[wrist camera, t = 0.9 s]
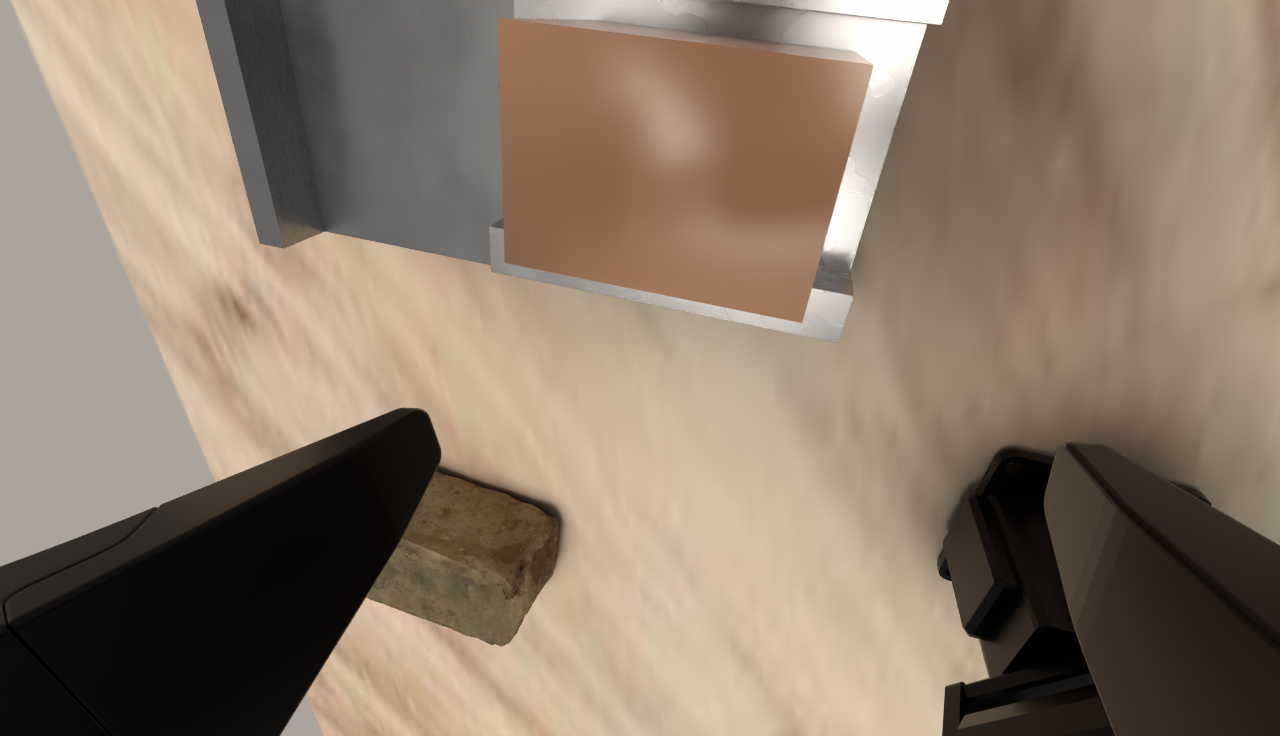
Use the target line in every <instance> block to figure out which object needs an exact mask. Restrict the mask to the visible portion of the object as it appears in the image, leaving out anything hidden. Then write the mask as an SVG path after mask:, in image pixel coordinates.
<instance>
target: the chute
mask: <svg viewBox="0 0 1280 736" xmlns="http://www.w3.org/2000/svg"><path fill="white" fill-rule="evenodd" d="M948 2H949V0H196V3H197V7H198V11H199V14H200V18H201V22H202V26H203V30H204V33H205V37H206V41H207V45H208V49H209V52H210V56H211V60H212V64H213V68H214V71H215V75H216V79H217V83H218V87H219V90H220V94H221V98H222V102H223V106H224V109H225V113H226V117H227V121H228V125H229V128H230V132H231V136H232V140H233V144H234V147H235V151H236V155H237V159H238V163H239V166H240V170H241V174H242V178H243V181H244V185H245V189H246V193H247V197H248V200H249V204H250V208H251V212H252V216H253V219H254V223H255V227H256V231H257V235H258V238H259V242H260V244H265V245H270V246H274V247H279V248H286V247H289V246H291V245H293V244H296V243H298V242H301V241H303V240H305V239H308V238H310V237H313V236H315V235H317V234H320V233H322V232H325V231H326V232H331V233H336V234H341V235H346V236H351V237H356V238H361V239H366V240H370V241H375V242H380V243H385V244H390V245H395V246H400V247H405V248H410V249H415V250H420V251H424V252H429V253H434V254H439V255H444V256H449V257H454V258H459V259H464V260H469V261H474V262H478V263H483V264H488V265H491V272H496V273H501V274H505V275H510V276H515V277H520V278H525V279H530V280H535V281H540V282H544V283H549V284H554V285H559V286H564V287H569V288H574V289H578V290H583V291H588V292H593V293H598V294H603V295H608V296H612V297H617V298H622V299H627V300H632V301H637V302H642V303H646V304H651V305H656V306H661V307H666V308H671V309H676V310H680V311H685V312H690V313H695V314H700V315H705V316H710V317H714V318H719V319H724V320H729V321H734V322H739V323H744V324H748V325H753V326H758V327H763V328H768V329H773V330H778V331H782V332H787V333H792V334H797V335H802V336H807V337H812V338H816V339H821V340H826V341H831V342H836V343H839V340H840V337H841V334H842V330H843V327H844V324H845V321H846V318H847V315H848V312H849V309H850V306H851V303H852V299H853V288H852V280H851V272H850V270H851V267H852V264H853V260H854V257H855V254H856V251H857V247H858V244H859V241H860V238H861V235H862V231H863V228H864V225H865V222H866V219H867V215H868V212H869V209H870V206H871V203H872V199H873V196H874V193H875V190H876V187H877V183H878V180H879V177H880V174H881V170H882V167H883V164H884V161H885V158H886V154H887V151H888V148H889V145H890V142H891V138H892V135H893V132H894V129H895V126H896V122H897V119H898V116H899V113H900V110H901V106H902V103H903V100H904V97H905V93H906V90H907V87H908V84H909V81H910V77H911V74H912V71H913V68H914V65H915V61H916V58H917V55H918V52H919V49H920V45H921V42H922V39H923V36H924V33H925V29H926V26H927V25H941V24H942V21H943V18H944V15H945V12H946V9H947V5H948ZM498 18H528V19H573V20H601V21H609V22H618V23H626V24H634V25H642V26H650V27H659V28H667V29H675V30H683V31H691V32H700V33H708V34H716V35H724V36H733V37H741V38H749V39H757V40H765V41H774V42H782V43H790V44H798V45H806V46H815V47H823V48H831V49H839V50H847V51H856V52H857V53H858V54H860V55H861V56H863V57H864V58H865V59H867V60H868V61H869V62H871V63H872V64H874V68H873V71H872V75H871V78H870V82H869V85H868V89H867V93H866V96H865V100H864V103H863V107H862V111H861V114H860V118H859V121H858V125H857V128H856V132H855V136H854V139H853V143H852V146H851V150H850V154H849V157H848V161H847V164H846V168H845V172H844V175H843V179H842V182H841V186H840V189H839V193H838V197H837V200H836V204H835V207H834V211H833V215H832V218H831V222H830V225H829V229H828V233H827V236H826V240H825V243H824V247H823V250H822V254H821V258H820V261H819V265H818V268H817V272H816V276H815V279H814V283H813V286H812V290H811V293H810V297H809V301H808V304H807V308H806V311H805V315H804V319H803V322H802V323H799V322H794V321H789V320H784V319H779V318H774V317H769V316H764V315H759V314H754V313H749V312H745V311H740V310H735V309H730V308H725V307H720V306H715V305H710V304H705V303H700V302H695V301H690V300H685V299H680V298H675V297H670V296H665V295H660V294H655V293H651V292H646V291H641V290H636V289H631V288H626V287H621V286H616V285H611V284H606V283H601V282H596V281H591V280H586V279H581V278H576V277H571V276H566V275H562V274H557V273H552V272H547V271H542V270H537V269H532V268H527V267H522V266H517V265H512V264H507V263H505V257H504V222H503V187H502V152H501V118H500V83H499V48H498Z"/></svg>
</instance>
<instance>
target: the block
mask: <svg viewBox="0 0 1280 736" xmlns="http://www.w3.org/2000/svg"><path fill="white" fill-rule="evenodd" d="M498 48H499V83H500V118H501V152H502V187H503V222H504V257H505V263H507V264H512V265H517V266H522V267H527V268H532V269H537V270H542V271H547V272H552V273H557V274H562V275H566V276H571V277H576V278H581V279H586V280H591V281H596V282H601V283H606V284H611V285H616V286H621V287H626V288H631V289H636V290H641V291H646V292H651V293H655V294H660V295H665V296H670V297H675V298H680V299H685V300H690V301H695V302H700V303H705V304H710V305H715V306H720V307H725V308H730V309H735V310H740V311H745V312H749V313H754V314H759V315H764V316H769V317H774V318H779V319H784V320H789V321H794V322H799V323H802V322H803V319H804V315H805V311H806V308H807V304H808V301H809V297H810V293H811V290H812V286H813V283H814V279H815V276H816V272H817V268H818V265H819V261H820V258H821V254H822V250H823V247H824V243H825V240H826V236H827V233H828V229H829V225H830V222H831V218H832V215H833V211H834V207H835V204H836V200H837V197H838V193H839V189H840V186H841V182H842V179H843V175H844V172H845V168H846V164H847V161H848V157H849V154H850V150H851V146H852V143H853V139H854V136H855V132H856V128H857V125H858V121H859V118H860V114H861V111H862V107H863V103H864V100H865V96H866V93H867V89H868V85H869V82H870V78H871V75H872V71H873V68H874V64H872V63H871V62H869V61H868V60H867V59H865V58H864V57H863V56H861V55H860V54H858V53H857V52H856V51H847V50H839V49H831V48H823V47H815V46H806V45H798V44H790V43H782V42H774V41H765V40H757V39H749V38H741V37H733V36H724V35H716V34H708V33H700V32H691V31H683V30H675V29H667V28H659V27H650V26H642V25H634V24H626V23H618V22H609V21H601V20H573V19H528V18H498Z"/></svg>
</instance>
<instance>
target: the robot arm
mask: <svg viewBox="0 0 1280 736" xmlns="http://www.w3.org/2000/svg"><path fill="white" fill-rule="evenodd" d="M440 460H441V448H440V445H439V442H438V439H437V436H436V433H435V431H434V428H433V425H432V422H431V419H430V417H429V415H428V413H427V412H426V411H425V410H423V409H419V408H399V409H396V410H393V411H391V412H389V413H386V414H384V415H381V416H379V417H376V418H374V419H371V420H369V421H366V422H364V423H361V424H359V425H356V426H354V427H351V428H349V429H347V430H344V431H342V432H339V433H337V434H334V435H332V436H329V437H327V438H324V439H322V440H319V441H317V442H314V443H312V444H309V445H307V446H305V447H302V448H300V449H297V450H295V451H292V452H290V453H287V454H285V455H282V456H280V457H277V458H275V459H272V460H270V461H267V462H265V463H263V464H260V465H258V466H255V467H253V468H250V469H248V470H245V471H243V472H240V473H238V474H235V475H233V476H230V477H228V478H225V479H223V480H221V481H218V482H216V483H213V484H211V485H209V486H206V487H203V488H201V489H198V490H196V491H193V492H191V493H189V494H186V495H183V496H181V497H179V498H176V499H174V500H171V501H169V502H166V503H164V504H162V505H160V507H158V508H157V507H154V508H151V509H149V510H146V511H144V512H141V513H139V514H136V515H134V516H131V517H129V518H127V519H124V520H122V521H119V522H116V523H114V524H111V525H109V526H106V527H104V528H101V529H99V530H96V531H94V532H91V533H88V534H86V535H83V536H81V537H78V538H76V539H73V540H70V541H68V542H65V543H63V544H60V545H57V546H55V547H52V548H49V549H46V550H44V551H41V552H38V553H36V554H33V555H31V556H28V557H25V558H23V559H20V560H17V561H14V562H12V563H9V564H6V565H3V566H0V736H280V735H281V733H282V732H283V730H284V728H285V727H286V725H287V724H288V722H289V720H290V719H291V717H292V715H293V714H294V712H295V711H296V709H297V708H298V706H299V704H300V703H301V701H302V700H303V698H304V696H305V695H306V693H307V691H308V690H309V688H310V687H311V685H312V683H313V682H314V680H315V679H316V677H317V675H318V674H319V672H320V671H321V669H322V667H323V666H324V664H325V663H326V661H327V659H328V658H329V656H330V654H331V653H332V651H333V650H334V648H335V646H336V645H337V643H338V642H339V640H340V638H341V637H342V635H343V634H344V632H345V630H346V629H347V627H348V626H349V624H350V622H351V621H352V619H353V617H354V616H355V614H356V613H357V611H358V609H359V608H360V606H361V605H362V603H363V601H364V600H365V598H366V597H367V595H368V593H369V592H370V590H371V589H372V587H373V585H374V584H375V582H376V580H377V579H378V577H379V576H380V574H381V572H382V571H383V569H384V568H385V566H386V564H387V563H388V561H389V560H390V558H391V556H392V555H393V553H394V551H395V550H396V548H397V546H398V545H399V543H400V541H401V539H402V537H403V536H404V534H405V532H406V530H407V528H408V526H409V524H410V522H411V520H412V518H413V516H414V514H415V512H416V510H417V508H418V506H419V504H420V502H421V500H422V498H423V496H424V494H425V492H426V490H427V488H428V486H429V484H430V482H431V480H432V478H433V476H434V474H435V472H436V470H437V468H438V466H439V463H440ZM1012 462H1018V464H1017V465H1015V466H1007V465H1008V464H1009V463H1012ZM943 547H944V551H943V552H942V554H941V556H940V558H939V560H938V562H937V567H938V571H939V574H940V576H941V577H942V578H944V579H946V580H949V581H952V584H953V588H954V592H955V597H956V601H957V605H958V609H959V613H960V618H961V622H962V626H963V628H964V630H965V631H966V633H967V634H968V636H970V637H974V638H977V639H979V641H980V644H981V648H982V652H983V656H984V660H985V664H986V667H987V671H988V675H989V678H987V679H983V680H980V681H976V682H972V683H969V684H965V683H963V682H959V683H956V684H952V685H948V686H946V687H945V699H944V715H943V731H942V736H1280V545H1278V544H1276V543H1275V542H1273V541H1271V540H1269V539H1268V538H1266V537H1264V536H1262V535H1261V534H1259V533H1257V532H1255V531H1254V530H1252V529H1250V528H1248V527H1247V526H1245V525H1243V524H1242V523H1240V522H1238V521H1236V520H1235V519H1233V518H1231V517H1229V516H1228V515H1226V514H1224V513H1222V512H1221V511H1219V510H1217V509H1215V508H1214V507H1212V505H1211V503H1210V502H1209V500H1208V499H1207V498H1206V497H1205V496H1204V495H1203V494H1202V493H1201V492H1200V491H1197V490H1194V489H1189V488H1185V487H1181V486H1176V485H1174V484H1172V483H1170V482H1168V481H1167V480H1165V479H1163V478H1162V477H1160V476H1158V475H1156V474H1155V473H1153V472H1151V471H1149V470H1148V469H1146V468H1144V467H1142V466H1141V465H1139V464H1137V463H1135V462H1134V461H1132V460H1130V459H1128V458H1127V457H1125V456H1123V455H1122V454H1120V453H1118V452H1116V451H1115V450H1113V449H1111V448H1109V447H1107V446H1105V445H1103V444H1098V443H1077V442H1065V443H1063V444H1062V445H1060V446H1059V448H1058V450H1057V451H1056V454H1055V458H1052V457H1047V456H1043V455H1038V454H1034V453H1029V452H1025V451H1020V450H1014V449H1009V450H1004V451H1002V452H1001V453H999V454H998V455H997V456H996V457H995V459H994V461H993V463H992V465H991V466H990V468H989V470H988V472H987V473H986V475H985V477H984V479H983V481H982V482H981V484H980V486H979V488H978V490H977V491H976V493H975V494H974V495H972V496H970V497H969V498H967V499H966V501H965V503H964V505H963V506H962V508H961V510H960V512H959V514H958V515H957V517H956V519H955V521H954V523H953V525H952V526H951V528H950V530H949V532H948V534H947V535H946V537H945V539H944V541H943ZM948 568H949V569H948Z"/></svg>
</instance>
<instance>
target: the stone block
mask: <svg viewBox="0 0 1280 736" xmlns="http://www.w3.org/2000/svg"><path fill="white" fill-rule="evenodd" d="M558 529H559V523H558V522H557V520H556V519H555V518H553V517H550V516H548V515H547V514H546V513H544V512H543V511H542V510H541V509H539V508H537V507H536V506H534V505H531V504H528V503H524V502H520V501H519V500H517V499H515V498H514V497H512V496H510V495H508V494H505V493H502V492H499V491H496V490H491V489H487V488H483V487H481V486H479V485H476V484H474V483H471V482H468V481H466V480H463V479H460V478H456V477H452V476H449V475H445V474H443V473H440V472H438V471H436V472H435V474H434V476H433V478H432V480H431V482H430V484H429V486H428V488H427V490H426V492H425V494H424V496H423V498H422V500H421V502H420V504H419V506H418V508H417V510H416V512H415V514H414V516H413V518H412V520H411V522H410V524H409V526H408V528H407V530H406V532H405V534H404V536H403V537H402V539H401V541H400V543H399V545H398V546H397V548H396V550H395V551H394V553H393V555H392V556H391V558H390V560H389V561H388V563H387V564H386V566H385V568H384V569H383V571H382V572H381V574H380V576H379V577H378V579H377V580H376V582H375V584H374V585H373V587H372V589H371V590H370V592H369V593H368V595H367V598H369V599H370V600H373V601H376V602H379V603H383V604H385V605H388V606H390V607H393V608H396V609H398V610H401V611H404V612H406V613H409V614H412V615H414V616H417V617H420V618H423V619H426V620H429V621H432V622H434V623H437V624H439V625H442V626H445V627H449V628H451V629H453V630H455V631H457V632H459V633H462V634H464V635H466V636H470V637H475V638H478V639H480V640H483V641H485V642H487V643H489V644H491V645H494V644H496V645H499V646H501V647H502V646H504V645H506V644H508V643H510V641H511V640H512V639H513V637H514V636H515V635H516V633H517V631H518V629H519V627H520V625H521V623H522V621H523V619H524V616H525V615H526V614H527V613H528V611H529V610H530V608H531V606H532V604H533V602H534V601H535V599H536V597H537V595H538V594H539V593H540V591H541V590H542V588H543V587H544V585H545V584H546V583H547V582H548V580H549V579H550V578H551V577H552V575H553V571H554V563H555V560H556V558H557V543H556V542H557V540H558Z"/></svg>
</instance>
